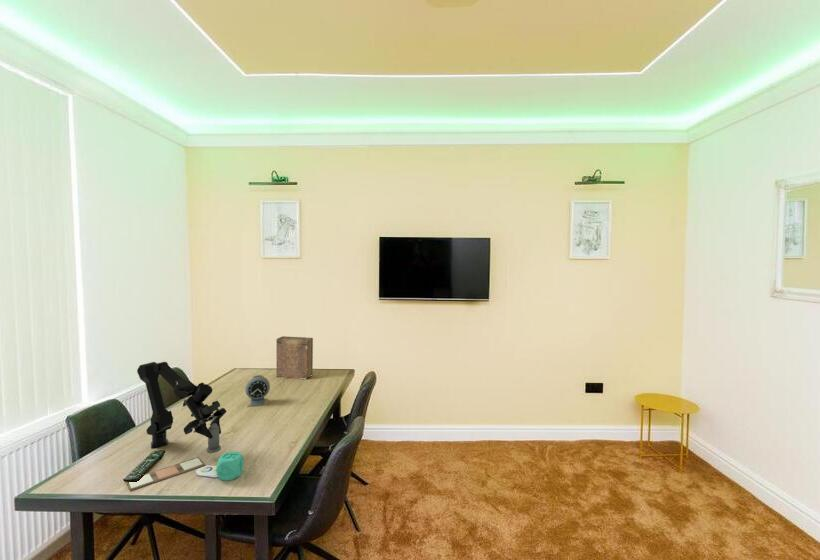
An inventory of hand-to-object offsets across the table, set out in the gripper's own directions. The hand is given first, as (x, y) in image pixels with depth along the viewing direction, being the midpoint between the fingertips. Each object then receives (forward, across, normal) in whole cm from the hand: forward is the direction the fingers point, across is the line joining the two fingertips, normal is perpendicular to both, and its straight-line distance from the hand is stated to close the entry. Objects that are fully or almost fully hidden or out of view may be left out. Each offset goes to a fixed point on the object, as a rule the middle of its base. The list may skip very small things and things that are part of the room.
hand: (216, 435), depth 166 cm
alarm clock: (-14, +59, +28) cm, 67 cm away
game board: (+1, -16, +14) cm, 21 cm away
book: (-22, +113, +37) cm, 121 cm away
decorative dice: (+19, -8, -4) cm, 21 cm away
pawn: (+4, 0, +6) cm, 7 cm away
